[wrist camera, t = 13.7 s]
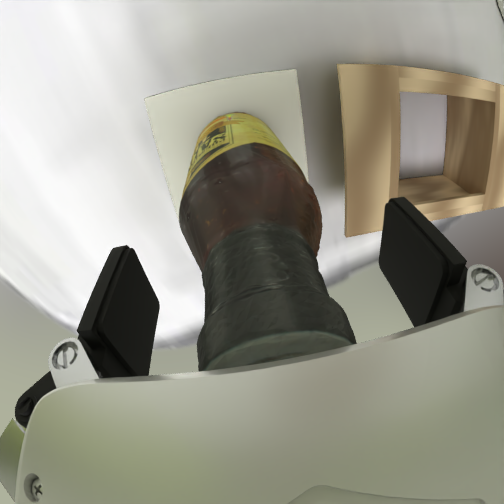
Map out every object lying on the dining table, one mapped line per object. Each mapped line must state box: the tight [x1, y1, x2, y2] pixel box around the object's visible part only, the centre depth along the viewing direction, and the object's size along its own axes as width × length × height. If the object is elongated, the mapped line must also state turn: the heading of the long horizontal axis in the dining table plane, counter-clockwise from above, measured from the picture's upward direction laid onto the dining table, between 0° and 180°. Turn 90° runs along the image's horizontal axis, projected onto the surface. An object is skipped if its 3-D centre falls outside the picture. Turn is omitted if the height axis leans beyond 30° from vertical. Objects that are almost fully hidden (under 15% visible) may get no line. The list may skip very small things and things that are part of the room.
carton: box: [337, 64, 504, 237], centre depth 21 cm, size 20×13×7 cm, turn 99°
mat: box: [144, 69, 309, 220], centre depth 23 cm, size 12×12×1 cm
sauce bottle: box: [179, 112, 357, 372], centre depth 14 cm, size 7×6×20 cm
